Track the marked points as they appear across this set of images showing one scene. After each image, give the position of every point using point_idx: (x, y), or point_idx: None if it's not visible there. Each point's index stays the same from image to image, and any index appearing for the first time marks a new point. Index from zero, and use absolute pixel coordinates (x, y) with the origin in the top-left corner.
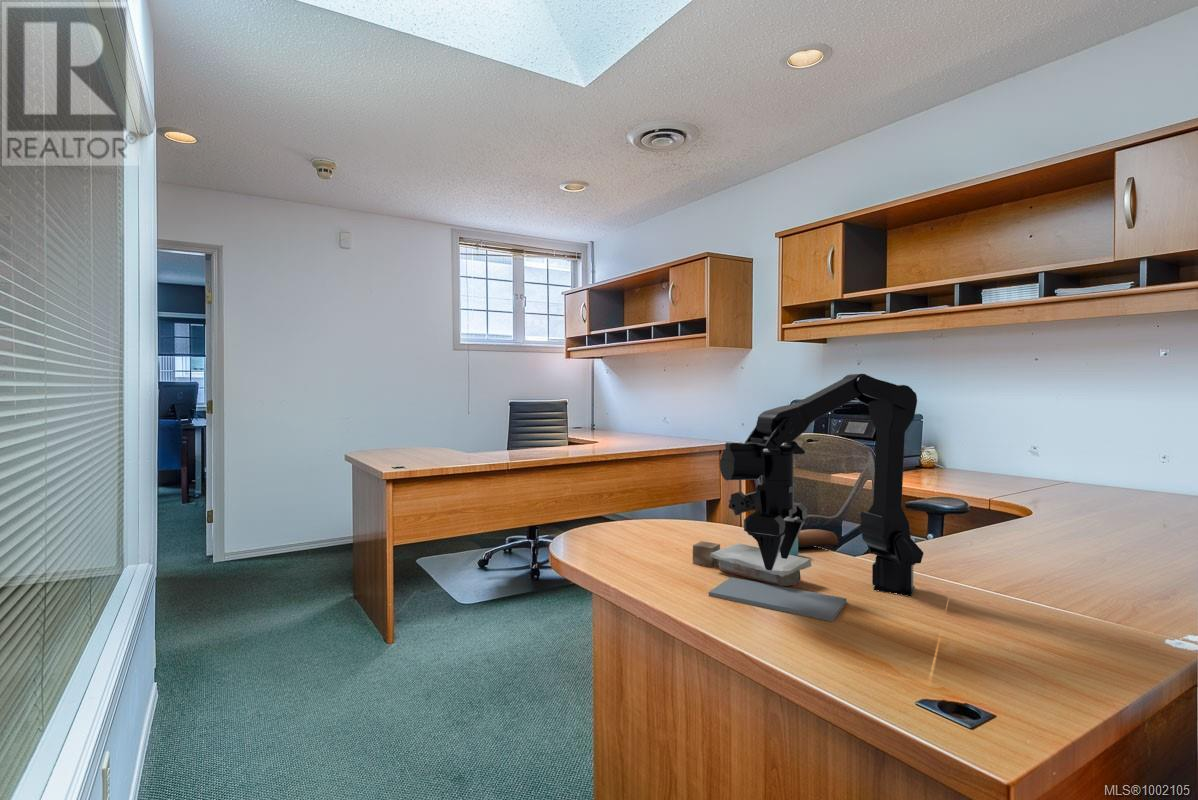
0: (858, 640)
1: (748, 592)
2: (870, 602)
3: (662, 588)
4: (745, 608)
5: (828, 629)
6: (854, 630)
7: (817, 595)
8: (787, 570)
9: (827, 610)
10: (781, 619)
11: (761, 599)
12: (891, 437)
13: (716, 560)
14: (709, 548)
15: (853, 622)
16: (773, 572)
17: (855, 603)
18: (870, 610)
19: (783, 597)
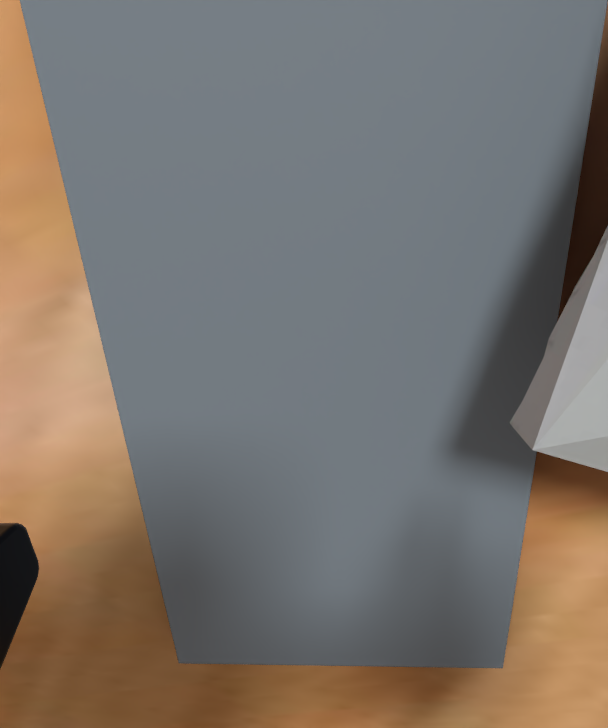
0: (70, 721)
1: (239, 178)
2: (561, 709)
3: None
4: (14, 258)
5: (87, 643)
6: (154, 704)
7: (467, 561)
8: (601, 464)
9: (248, 635)
10: (30, 478)
11: (157, 325)
12: None
13: None
14: None
15: (240, 692)
16: (559, 336)
17: (509, 670)
18: (440, 718)
19: (303, 424)
